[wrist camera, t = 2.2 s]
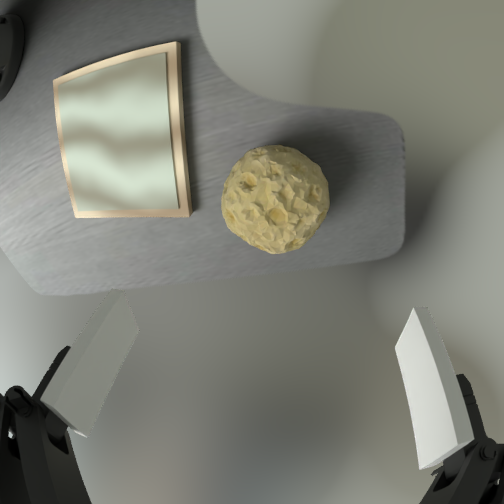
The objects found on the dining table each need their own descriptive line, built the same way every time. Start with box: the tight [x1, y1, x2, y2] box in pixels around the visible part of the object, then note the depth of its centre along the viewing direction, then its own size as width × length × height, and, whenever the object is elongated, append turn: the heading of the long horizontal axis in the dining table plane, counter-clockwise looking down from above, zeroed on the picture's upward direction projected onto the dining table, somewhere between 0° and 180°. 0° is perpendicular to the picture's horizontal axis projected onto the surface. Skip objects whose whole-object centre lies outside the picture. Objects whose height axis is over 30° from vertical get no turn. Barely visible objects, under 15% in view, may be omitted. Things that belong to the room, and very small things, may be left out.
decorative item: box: [221, 144, 330, 254], centre depth 24 cm, size 10×10×10 cm
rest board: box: [53, 42, 193, 218], centre depth 25 cm, size 18×16×1 cm
